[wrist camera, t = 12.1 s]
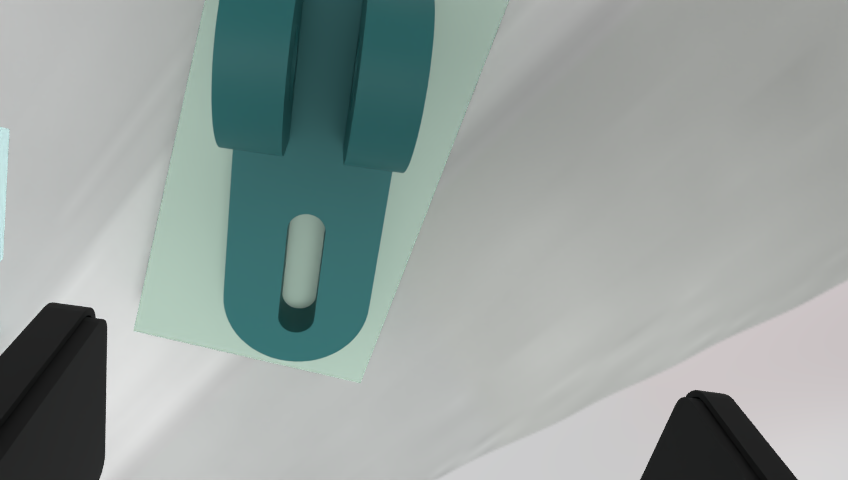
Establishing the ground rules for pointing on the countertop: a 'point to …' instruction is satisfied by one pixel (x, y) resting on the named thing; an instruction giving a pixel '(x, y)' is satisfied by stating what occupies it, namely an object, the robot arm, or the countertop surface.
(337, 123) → the bracket
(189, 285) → the base plate
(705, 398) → the robot arm
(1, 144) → the l-shaped corner panel
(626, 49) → the countertop surface
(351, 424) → the countertop surface
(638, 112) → the countertop surface
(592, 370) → the countertop surface
